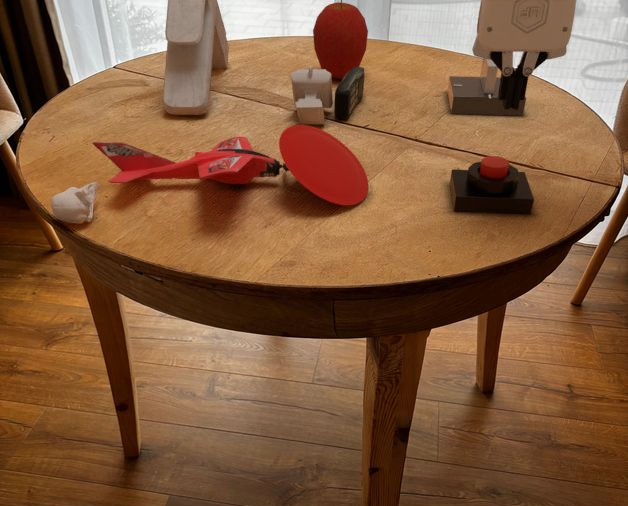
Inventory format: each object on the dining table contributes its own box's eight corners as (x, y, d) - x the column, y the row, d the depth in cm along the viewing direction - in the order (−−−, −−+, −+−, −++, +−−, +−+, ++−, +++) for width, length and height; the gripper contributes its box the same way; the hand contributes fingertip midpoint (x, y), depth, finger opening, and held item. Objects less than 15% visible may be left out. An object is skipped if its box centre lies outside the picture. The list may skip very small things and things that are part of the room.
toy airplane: (302, 210, 83) (304, 169, 81) (74, 205, 79) (70, 162, 77) (283, 168, 107) (284, 135, 105) (107, 162, 103) (104, 128, 101)
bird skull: (118, 192, 89) (107, 168, 86) (87, 234, 85) (74, 210, 82) (83, 186, 91) (71, 162, 88) (51, 226, 87) (37, 202, 84)
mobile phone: (350, 92, 108) (368, 60, 119) (332, 90, 109) (352, 59, 120) (349, 121, 112) (367, 88, 122) (332, 120, 112) (351, 87, 123)
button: (505, 168, 90) (507, 156, 89) (508, 180, 88) (511, 168, 86) (478, 167, 90) (480, 155, 89) (480, 179, 88) (483, 167, 87)
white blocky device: (291, 56, 108) (285, 96, 105) (331, 56, 108) (328, 96, 104) (296, 97, 117) (291, 136, 113) (334, 98, 116) (331, 136, 112)
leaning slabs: (186, 158, 130) (153, 95, 107) (195, 42, 134) (165, -42, 111) (225, 159, 129) (201, 96, 107) (233, 43, 133) (211, -42, 111)
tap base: (513, 93, 121) (517, 75, 119) (523, 117, 113) (527, 98, 111) (447, 91, 122) (449, 74, 120) (451, 115, 114) (453, 96, 112)
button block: (521, 186, 94) (527, 159, 91) (530, 214, 88) (537, 186, 85) (449, 183, 95) (453, 156, 92) (453, 211, 89) (457, 183, 86)
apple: (303, 73, 130) (302, -6, 121) (346, 64, 134) (349, -13, 125) (331, 90, 123) (332, 7, 114) (376, 80, 127) (381, -1, 118)
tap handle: (493, 93, 113) (498, 64, 110) (484, 93, 113) (488, 64, 110) (488, 79, 118) (493, 51, 115) (479, 79, 118) (484, 51, 115)
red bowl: (381, 172, 96) (358, 199, 100) (304, 108, 94) (284, 139, 98) (350, 220, 86) (326, 248, 90) (263, 150, 84) (243, 182, 89)
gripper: (469, -59, 69) (450, 117, 81) (620, -61, 68) (578, 118, 80) (463, -72, 75) (446, 94, 87) (602, -74, 73) (565, 94, 85)
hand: (509, 105), depth 83 cm, fingers closed
